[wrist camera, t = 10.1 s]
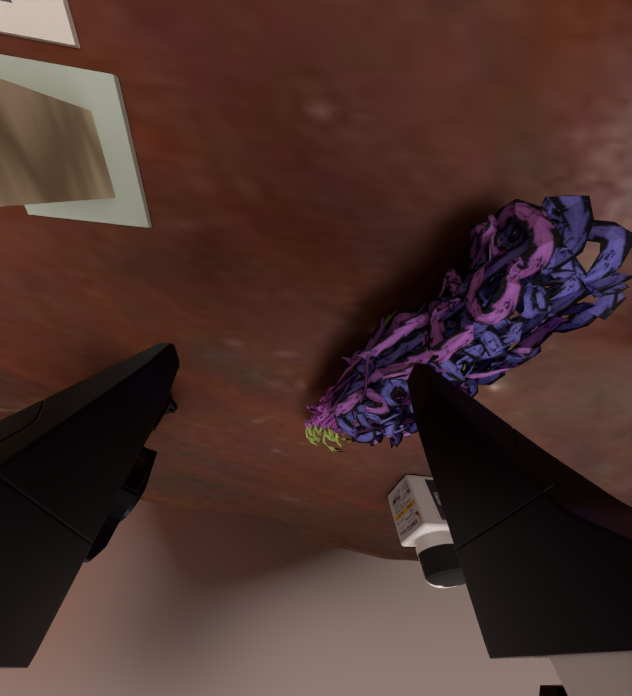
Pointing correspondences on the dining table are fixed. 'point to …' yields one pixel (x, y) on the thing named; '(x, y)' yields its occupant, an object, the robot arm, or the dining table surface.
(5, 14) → the tile
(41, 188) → the pillar
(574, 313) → the decorative ornament
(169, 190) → the dining table surface
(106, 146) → the felt pad
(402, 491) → the container
